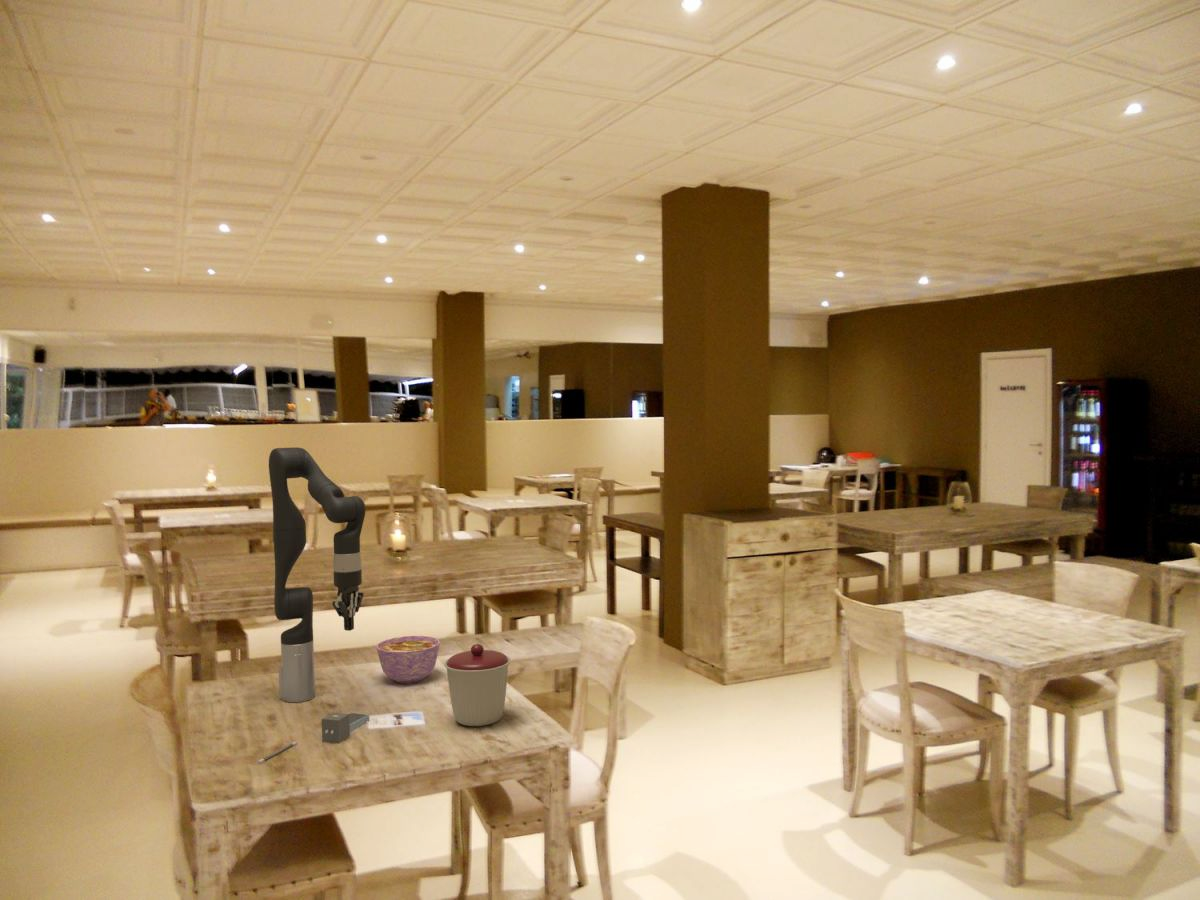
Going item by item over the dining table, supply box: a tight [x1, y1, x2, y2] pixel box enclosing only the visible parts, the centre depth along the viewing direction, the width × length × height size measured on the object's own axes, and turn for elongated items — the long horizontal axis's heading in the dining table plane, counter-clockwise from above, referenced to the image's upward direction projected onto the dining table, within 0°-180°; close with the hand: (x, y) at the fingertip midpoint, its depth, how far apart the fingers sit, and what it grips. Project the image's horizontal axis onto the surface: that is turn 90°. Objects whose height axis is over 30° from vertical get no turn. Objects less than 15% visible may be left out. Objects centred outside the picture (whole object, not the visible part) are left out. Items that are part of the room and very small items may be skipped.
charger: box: [321, 712, 351, 744], centre depth 223 cm, size 5×6×6 cm
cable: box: [258, 741, 297, 764], centre depth 214 cm, size 13×1×1 cm, turn 160°
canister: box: [443, 643, 512, 727], centre depth 235 cm, size 18×18×21 cm
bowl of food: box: [376, 635, 441, 684], centre depth 274 cm, size 20×20×12 cm
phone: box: [348, 711, 370, 732], centre depth 233 cm, size 6×11×2 cm, turn 159°
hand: (349, 629), depth 239 cm, fingers closed
